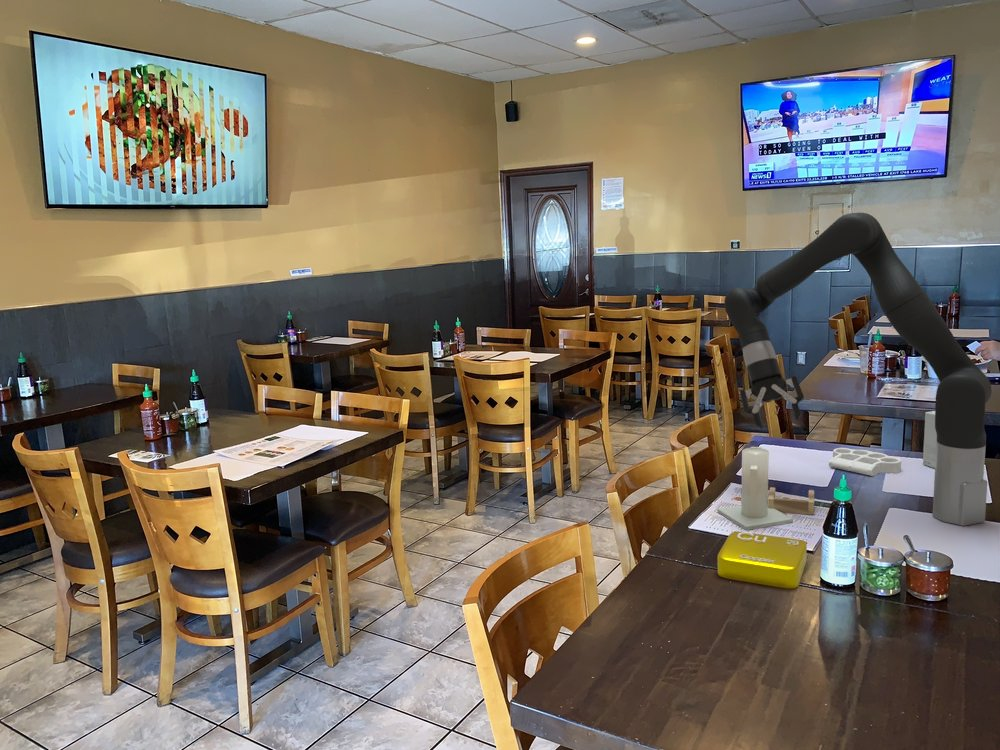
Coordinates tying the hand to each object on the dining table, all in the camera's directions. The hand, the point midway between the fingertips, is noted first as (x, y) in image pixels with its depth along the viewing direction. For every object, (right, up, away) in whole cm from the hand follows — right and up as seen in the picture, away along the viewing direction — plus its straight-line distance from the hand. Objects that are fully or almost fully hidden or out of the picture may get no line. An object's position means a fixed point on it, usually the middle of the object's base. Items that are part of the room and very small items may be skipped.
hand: (779, 424), depth 184 cm
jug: (-10, -20, -10) cm, 25 cm away
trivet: (-9, -21, -9) cm, 25 cm away
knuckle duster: (+31, -14, +22) cm, 40 cm away
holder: (+1, -19, -4) cm, 20 cm away
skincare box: (+51, -13, +19) cm, 56 cm away
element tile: (-16, -27, -35) cm, 47 cm away
